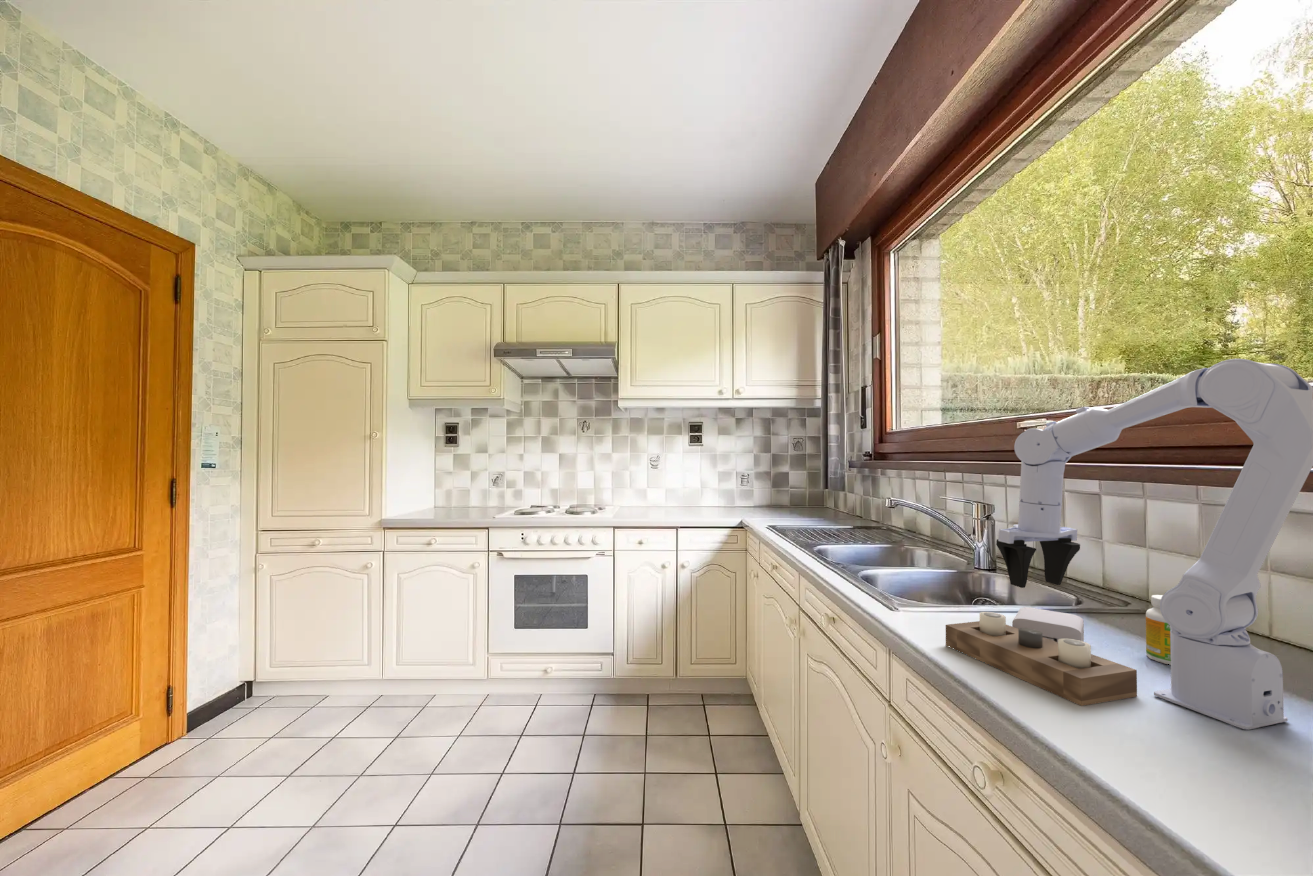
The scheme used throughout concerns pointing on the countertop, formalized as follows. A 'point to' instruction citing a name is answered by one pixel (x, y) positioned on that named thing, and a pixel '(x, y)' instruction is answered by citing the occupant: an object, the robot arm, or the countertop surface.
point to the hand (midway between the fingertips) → (1035, 584)
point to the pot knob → (1030, 638)
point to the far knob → (992, 624)
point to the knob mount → (1045, 665)
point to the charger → (1050, 623)
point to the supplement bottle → (1157, 633)
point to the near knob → (1074, 653)
